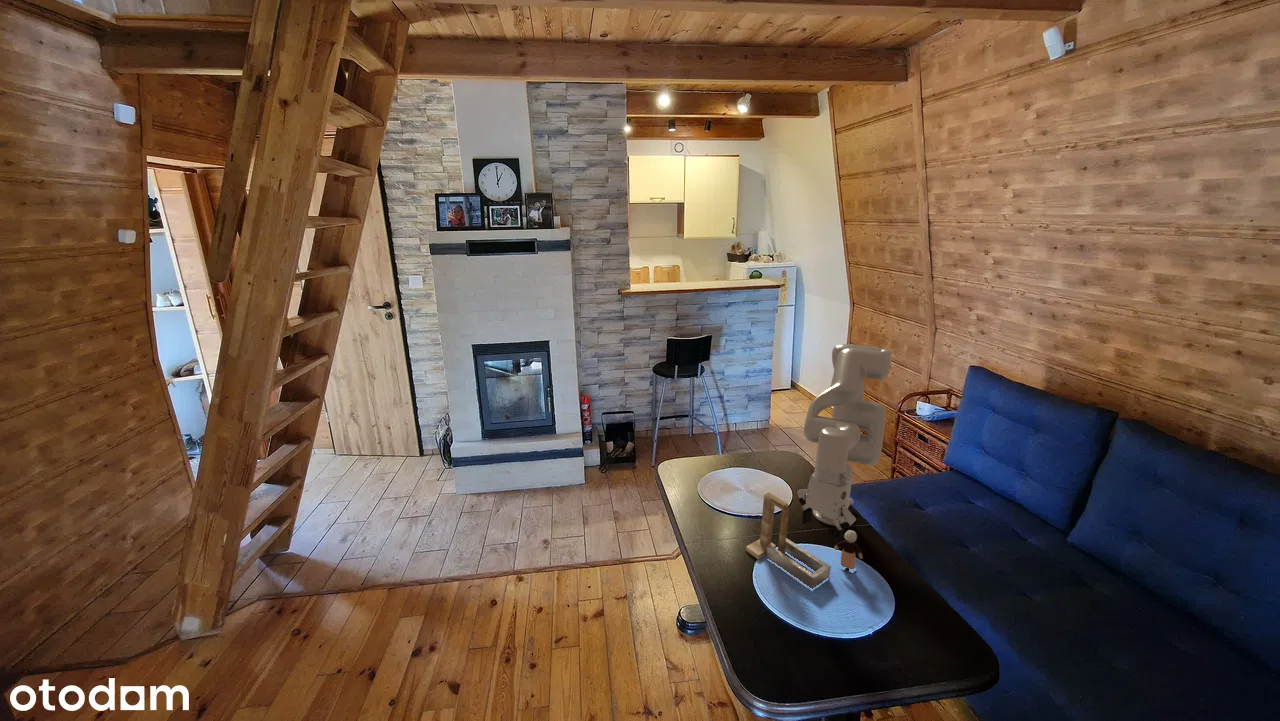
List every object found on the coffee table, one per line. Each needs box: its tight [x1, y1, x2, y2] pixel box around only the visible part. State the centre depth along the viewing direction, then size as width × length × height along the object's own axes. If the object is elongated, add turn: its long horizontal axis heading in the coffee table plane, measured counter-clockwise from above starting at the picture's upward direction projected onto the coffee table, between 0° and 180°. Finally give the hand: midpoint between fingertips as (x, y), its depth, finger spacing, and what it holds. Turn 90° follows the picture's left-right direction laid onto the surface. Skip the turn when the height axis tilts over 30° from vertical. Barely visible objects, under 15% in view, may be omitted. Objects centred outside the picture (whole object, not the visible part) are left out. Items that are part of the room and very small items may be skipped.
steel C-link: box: [766, 537, 832, 589], centre depth 144 cm, size 16×8×4 cm, turn 36°
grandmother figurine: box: [833, 529, 864, 569], centre depth 143 cm, size 8×4×13 cm, turn 71°
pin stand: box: [745, 492, 790, 560], centre depth 148 cm, size 8×10×19 cm
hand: (821, 530), depth 135 cm, fingers open, 9 cm apart
